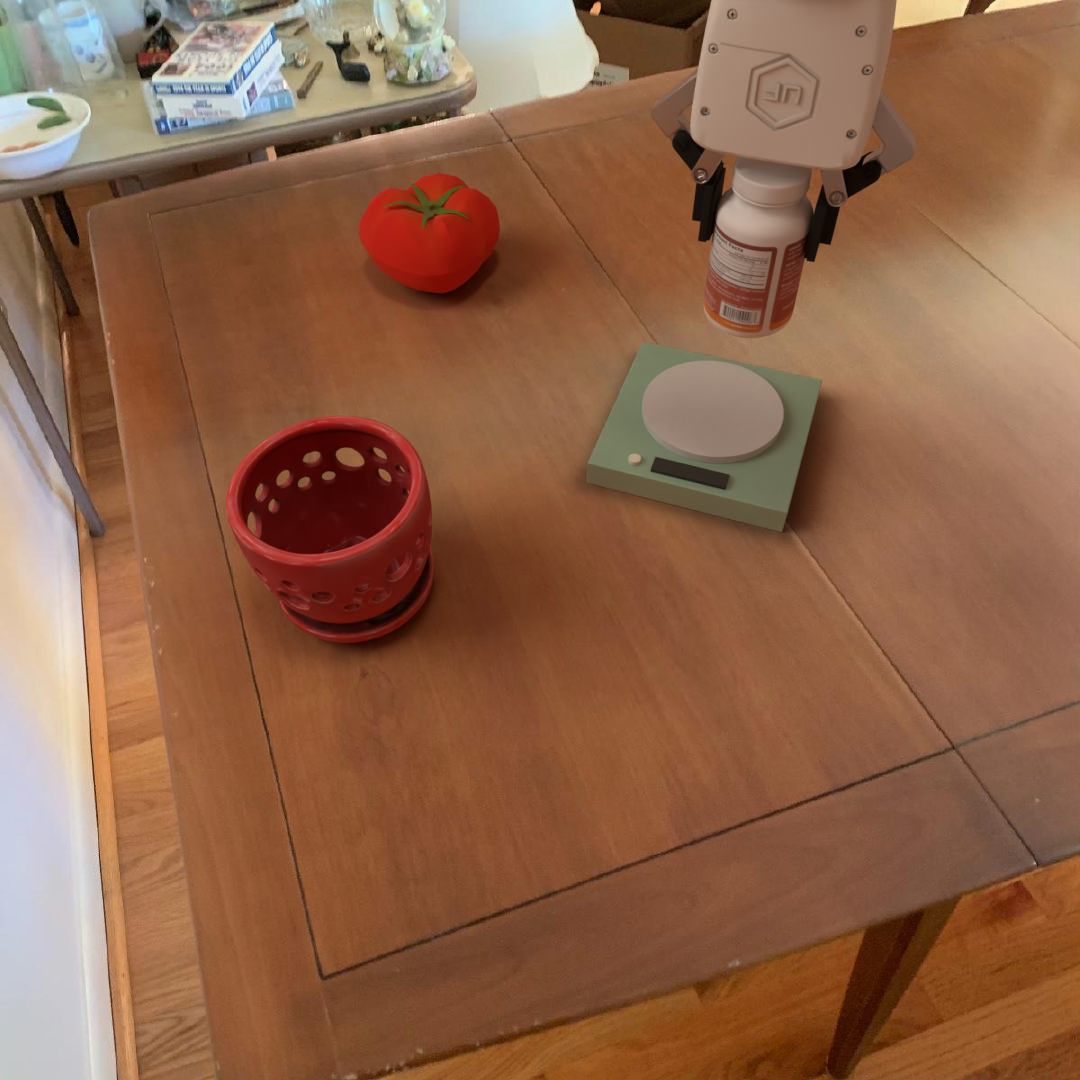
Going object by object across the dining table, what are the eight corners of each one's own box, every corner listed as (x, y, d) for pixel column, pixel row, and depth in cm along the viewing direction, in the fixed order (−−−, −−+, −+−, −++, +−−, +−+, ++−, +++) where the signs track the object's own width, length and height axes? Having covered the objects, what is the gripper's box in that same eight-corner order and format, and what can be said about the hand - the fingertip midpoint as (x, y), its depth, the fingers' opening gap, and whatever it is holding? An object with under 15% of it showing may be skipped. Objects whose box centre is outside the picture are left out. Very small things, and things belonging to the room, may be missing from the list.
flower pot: (320, 505, 78) (289, 392, 69) (470, 550, 75) (458, 439, 66) (230, 631, 70) (181, 524, 61) (393, 688, 67) (367, 584, 58)
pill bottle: (769, 280, 70) (799, 133, 62) (806, 332, 67) (843, 184, 58) (688, 294, 69) (707, 147, 61) (721, 348, 66) (746, 200, 57)
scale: (816, 400, 85) (824, 372, 83) (782, 533, 76) (789, 505, 73) (640, 361, 89) (643, 333, 86) (586, 483, 79) (587, 455, 77)
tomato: (372, 323, 93) (358, 243, 86) (361, 248, 101) (348, 169, 94) (515, 304, 94) (512, 224, 88) (493, 231, 102) (489, 153, 95)
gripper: (633, -61, 49) (616, 248, 63) (990, -19, 45) (888, 299, 59) (670, -110, 54) (646, 188, 68) (998, -76, 50) (901, 232, 64)
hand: (760, 237), depth 63 cm, fingers closed on pill bottle, 6 cm apart
